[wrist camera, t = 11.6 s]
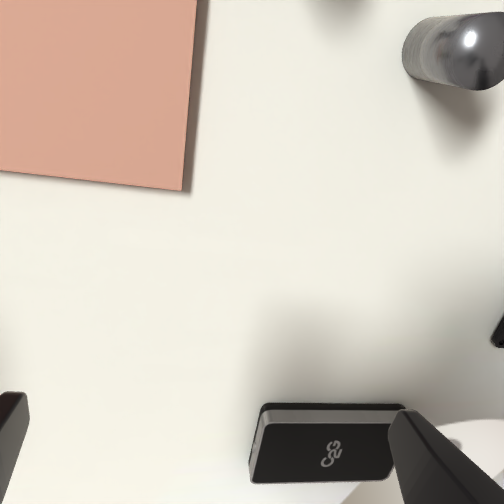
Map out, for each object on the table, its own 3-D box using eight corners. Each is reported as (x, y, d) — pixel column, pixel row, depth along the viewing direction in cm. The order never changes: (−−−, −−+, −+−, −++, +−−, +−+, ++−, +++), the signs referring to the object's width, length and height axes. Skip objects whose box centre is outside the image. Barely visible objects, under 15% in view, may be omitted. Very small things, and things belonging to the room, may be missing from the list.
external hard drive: (377, 456, 32) (387, 481, 30) (244, 458, 30) (247, 484, 28) (404, 398, 29) (417, 422, 27) (258, 396, 27) (262, 421, 25)
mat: (203, -79, 14) (203, -84, 13) (181, 186, 18) (181, 190, 18) (-194, -173, 12) (-212, -183, 11) (-105, 153, 16) (-115, 156, 16)
